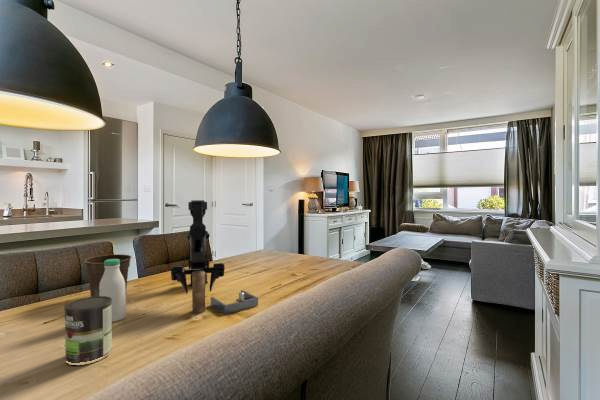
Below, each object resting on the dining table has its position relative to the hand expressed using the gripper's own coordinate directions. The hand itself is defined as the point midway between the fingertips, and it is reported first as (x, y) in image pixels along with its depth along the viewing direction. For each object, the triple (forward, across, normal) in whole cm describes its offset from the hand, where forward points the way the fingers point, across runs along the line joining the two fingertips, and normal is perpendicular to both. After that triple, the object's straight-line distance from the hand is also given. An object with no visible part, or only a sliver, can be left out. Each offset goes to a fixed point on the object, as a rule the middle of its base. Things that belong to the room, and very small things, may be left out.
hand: (198, 292), depth 111 cm
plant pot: (-15, -34, +25) cm, 45 cm away
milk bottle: (+3, -28, +8) cm, 29 cm away
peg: (+4, 0, +6) cm, 7 cm away
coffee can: (+21, -27, -10) cm, 36 cm away
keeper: (+3, +13, +7) cm, 15 cm away
